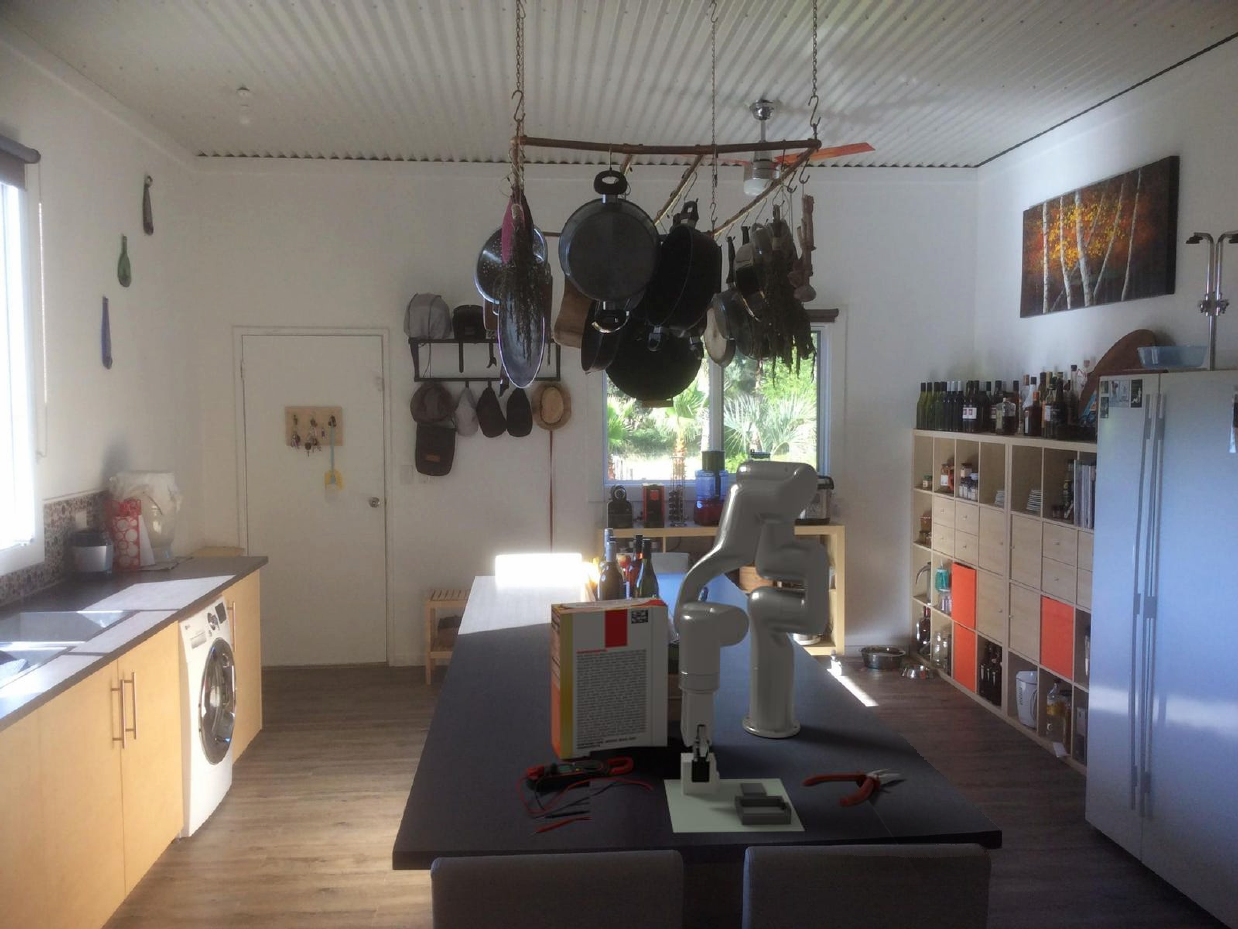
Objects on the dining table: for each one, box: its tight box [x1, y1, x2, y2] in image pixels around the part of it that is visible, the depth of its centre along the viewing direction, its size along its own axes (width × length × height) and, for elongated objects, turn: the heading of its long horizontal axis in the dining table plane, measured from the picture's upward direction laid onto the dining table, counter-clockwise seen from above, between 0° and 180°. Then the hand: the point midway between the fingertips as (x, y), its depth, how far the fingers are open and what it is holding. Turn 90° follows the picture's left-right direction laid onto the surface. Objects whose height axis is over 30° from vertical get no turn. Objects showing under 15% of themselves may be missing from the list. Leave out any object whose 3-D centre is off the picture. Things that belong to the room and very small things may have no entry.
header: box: [735, 796, 791, 825], centre depth 154 cm, size 8×9×2 cm
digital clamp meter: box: [516, 756, 655, 836], centre depth 164 cm, size 23×4×25 cm
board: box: [663, 778, 805, 834], centre depth 158 cm, size 20×22×2 cm
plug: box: [680, 752, 720, 794], centre depth 164 cm, size 4×7×6 cm, turn 92°
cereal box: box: [550, 596, 669, 761], centre depth 185 cm, size 23×8×30 cm, turn 107°
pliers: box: [801, 767, 904, 807], centre depth 167 cm, size 12×20×3 cm, turn 122°
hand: (697, 770), depth 163 cm, fingers open, 9 cm apart
